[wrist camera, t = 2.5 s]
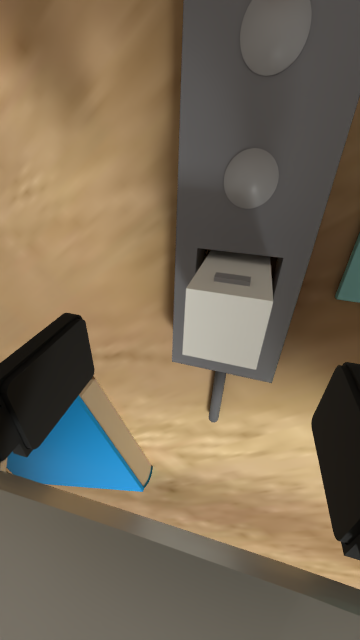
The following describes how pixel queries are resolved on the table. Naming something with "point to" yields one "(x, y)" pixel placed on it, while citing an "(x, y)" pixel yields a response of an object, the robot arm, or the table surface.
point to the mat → (351, 277)
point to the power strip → (260, 145)
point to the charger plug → (228, 308)
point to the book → (87, 449)
